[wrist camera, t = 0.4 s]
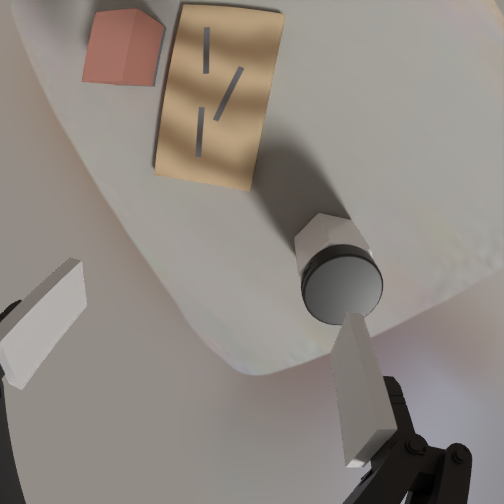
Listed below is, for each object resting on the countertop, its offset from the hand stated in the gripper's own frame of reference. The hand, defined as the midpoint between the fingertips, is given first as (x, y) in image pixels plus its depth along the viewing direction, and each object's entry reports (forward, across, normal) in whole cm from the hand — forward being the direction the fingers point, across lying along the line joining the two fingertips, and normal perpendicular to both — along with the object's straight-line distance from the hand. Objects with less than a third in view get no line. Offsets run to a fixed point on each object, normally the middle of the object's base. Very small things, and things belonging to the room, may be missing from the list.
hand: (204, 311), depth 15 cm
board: (+26, -6, +11) cm, 29 cm away
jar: (+26, +11, -6) cm, 29 cm away
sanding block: (+26, -16, +15) cm, 34 cm away
